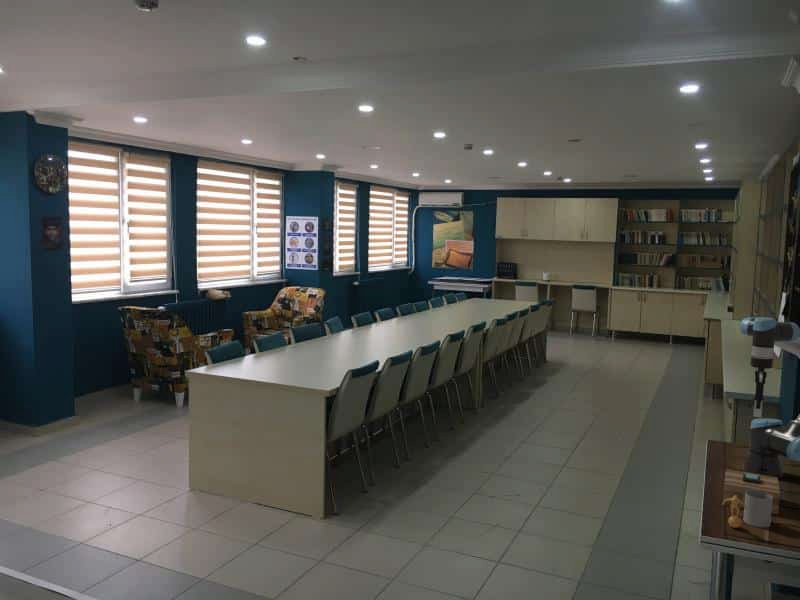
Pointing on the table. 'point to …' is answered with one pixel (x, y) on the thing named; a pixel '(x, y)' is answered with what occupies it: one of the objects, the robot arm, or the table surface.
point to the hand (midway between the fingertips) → (757, 416)
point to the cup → (758, 508)
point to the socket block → (750, 487)
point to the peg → (751, 477)
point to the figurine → (735, 520)
